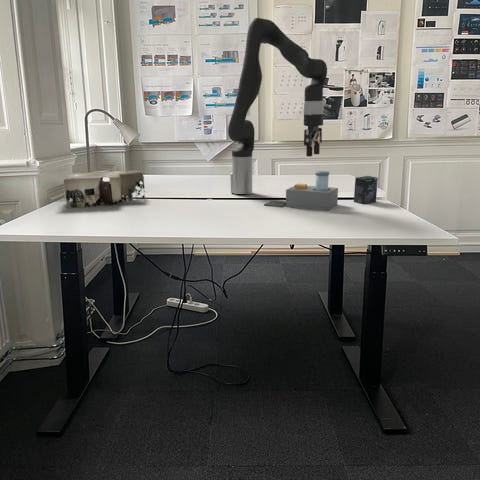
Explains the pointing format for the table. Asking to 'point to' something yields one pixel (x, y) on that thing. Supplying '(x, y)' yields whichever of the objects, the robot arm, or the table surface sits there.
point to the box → (365, 189)
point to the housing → (312, 198)
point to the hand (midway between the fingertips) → (313, 155)
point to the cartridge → (322, 180)
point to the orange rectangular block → (300, 186)
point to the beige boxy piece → (102, 187)
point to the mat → (275, 204)
